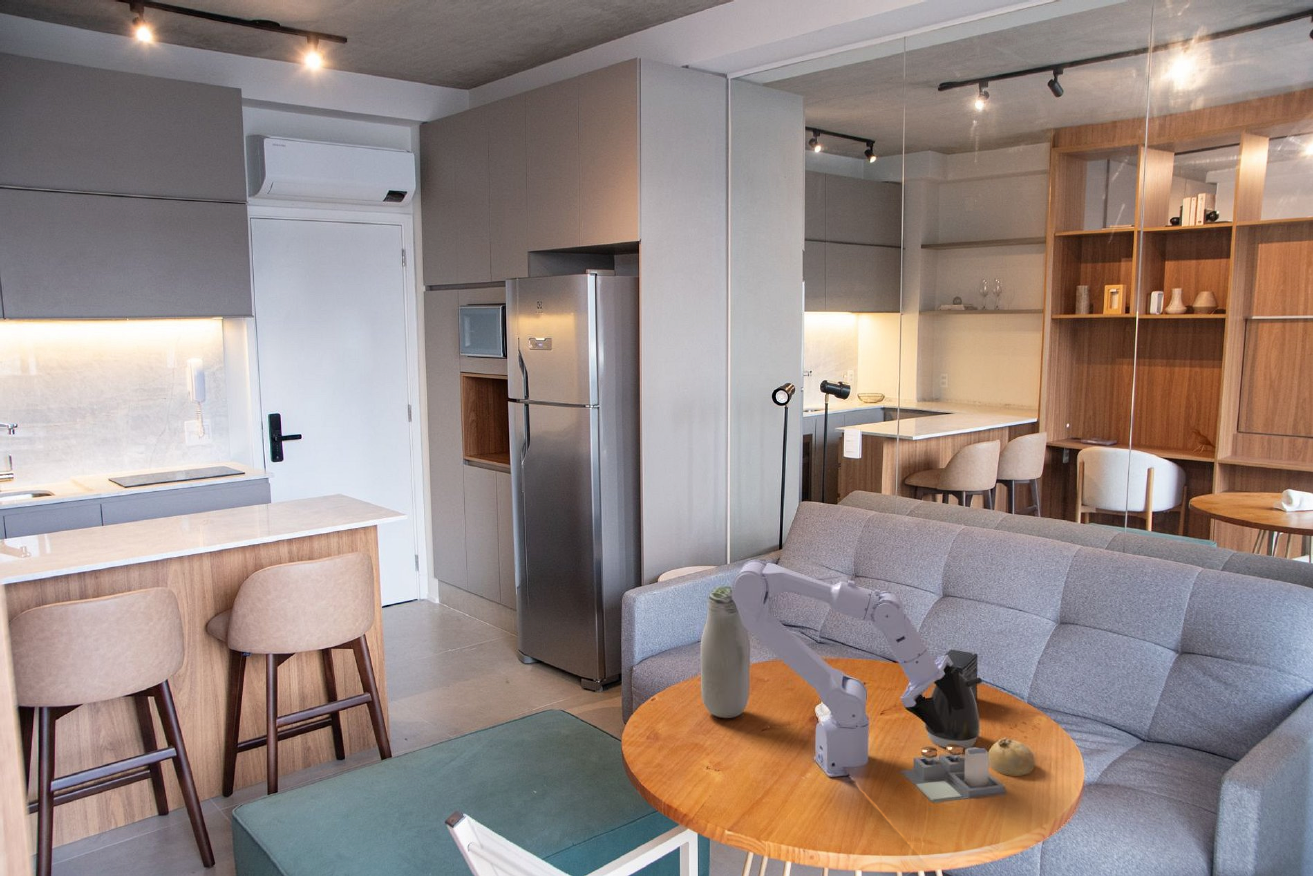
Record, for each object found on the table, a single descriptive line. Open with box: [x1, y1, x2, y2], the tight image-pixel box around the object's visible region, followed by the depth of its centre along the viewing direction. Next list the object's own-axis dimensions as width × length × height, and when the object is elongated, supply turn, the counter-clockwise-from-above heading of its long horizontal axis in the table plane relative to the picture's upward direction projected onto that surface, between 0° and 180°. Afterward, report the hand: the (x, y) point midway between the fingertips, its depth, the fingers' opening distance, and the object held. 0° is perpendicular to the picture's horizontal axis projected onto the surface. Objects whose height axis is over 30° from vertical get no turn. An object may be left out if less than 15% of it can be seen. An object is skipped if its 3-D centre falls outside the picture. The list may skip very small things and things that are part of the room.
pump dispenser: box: [924, 673, 983, 750], centre depth 183 cm, size 10×10×15 cm
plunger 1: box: [920, 746, 938, 765], centre depth 169 cm, size 3×3×3 cm
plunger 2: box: [945, 744, 964, 762], centre depth 170 cm, size 3×3×3 cm
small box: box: [934, 649, 979, 701], centre depth 205 cm, size 11×6×10 cm, turn 144°
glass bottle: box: [700, 585, 751, 719], centre depth 199 cm, size 10×10×28 cm
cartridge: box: [964, 747, 990, 788], centre depth 165 cm, size 4×4×6 cm
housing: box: [899, 753, 1008, 804], centre depth 166 cm, size 14×12×4 cm
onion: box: [988, 736, 1036, 777], centre depth 172 cm, size 8×8×7 cm
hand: (950, 720), depth 171 cm, fingers open, 7 cm apart
